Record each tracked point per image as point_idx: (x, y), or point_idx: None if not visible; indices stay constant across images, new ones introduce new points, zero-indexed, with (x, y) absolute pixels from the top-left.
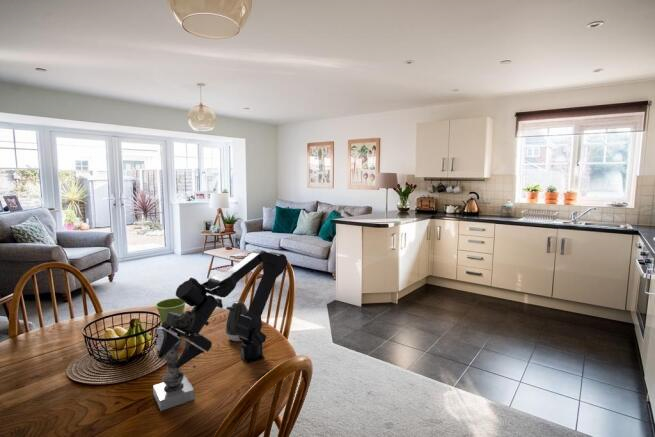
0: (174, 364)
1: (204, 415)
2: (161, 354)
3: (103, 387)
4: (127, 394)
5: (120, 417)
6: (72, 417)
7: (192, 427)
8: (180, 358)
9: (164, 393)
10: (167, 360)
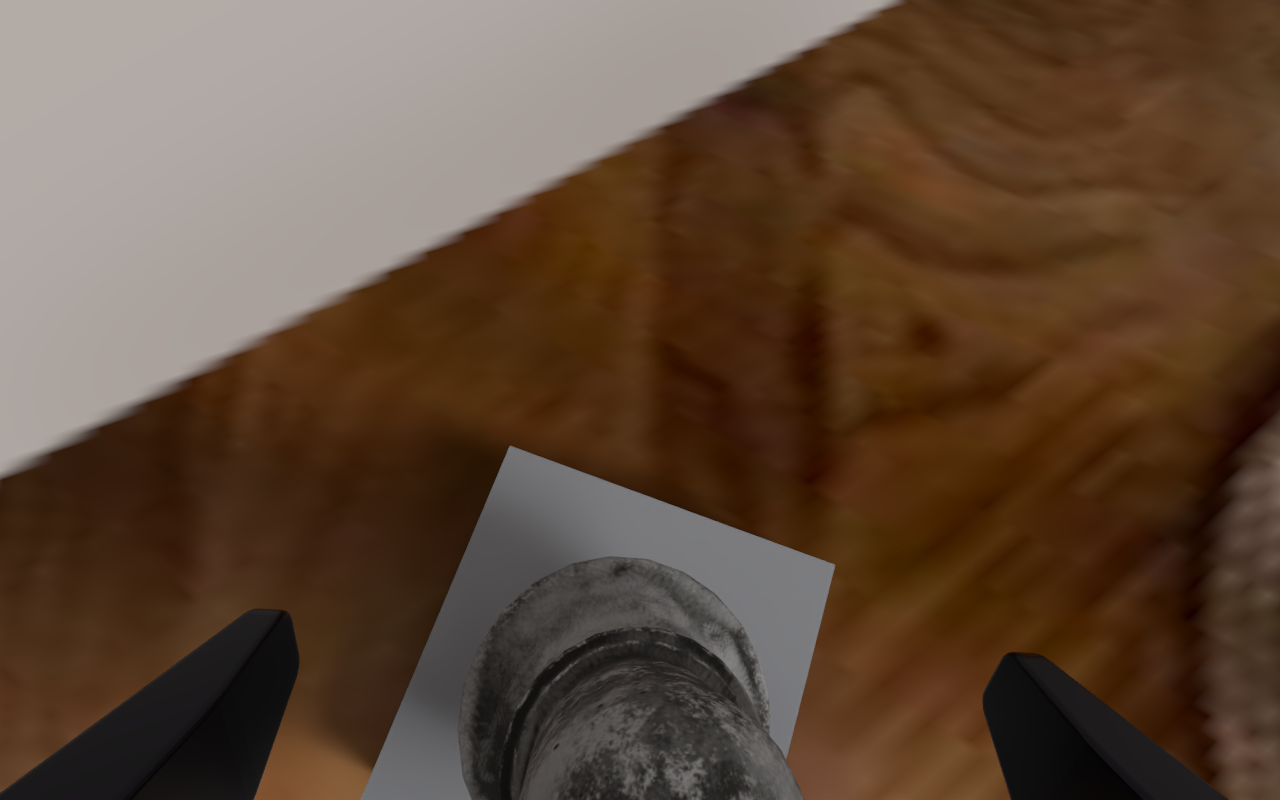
0: (534, 746)
1: (77, 672)
2: (1036, 736)
3: (1228, 379)
4: (983, 438)
5: (717, 254)
6: (974, 99)
7: (64, 494)
8: (54, 791)
9: (591, 549)
10: (687, 675)
